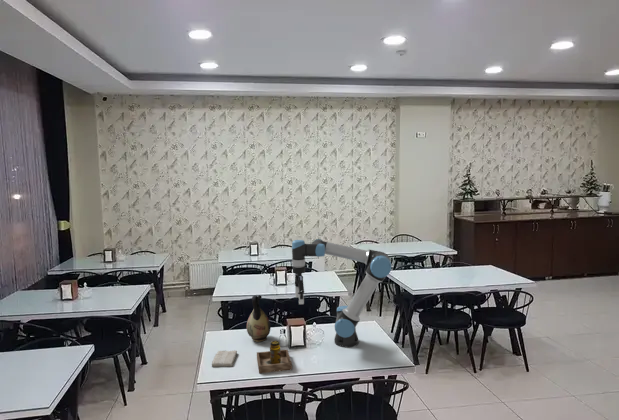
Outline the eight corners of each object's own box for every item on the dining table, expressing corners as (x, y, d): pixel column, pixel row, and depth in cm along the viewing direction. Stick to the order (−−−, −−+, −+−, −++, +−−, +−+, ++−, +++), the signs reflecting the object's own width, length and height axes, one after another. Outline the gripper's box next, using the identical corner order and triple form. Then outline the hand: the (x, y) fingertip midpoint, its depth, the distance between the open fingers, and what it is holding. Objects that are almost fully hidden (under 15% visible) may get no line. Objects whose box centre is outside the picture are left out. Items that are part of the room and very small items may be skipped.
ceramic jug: (250, 334, 293) (249, 290, 289) (273, 334, 290) (271, 290, 287) (243, 344, 276) (241, 298, 273) (267, 345, 274) (265, 299, 270)
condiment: (283, 363, 247) (283, 342, 246) (270, 367, 242) (269, 346, 241) (277, 358, 253) (276, 338, 252) (264, 362, 249) (263, 342, 247)
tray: (287, 355, 259) (287, 349, 258) (292, 370, 241) (291, 363, 241) (256, 359, 255) (256, 352, 255) (259, 373, 238) (258, 366, 237)
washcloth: (237, 353, 264) (237, 348, 264) (232, 367, 246) (232, 362, 246) (217, 354, 264) (217, 349, 264) (211, 368, 246) (211, 362, 246)
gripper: (289, 261, 273) (290, 294, 275) (295, 271, 248) (296, 307, 251) (301, 261, 274) (302, 294, 276) (308, 270, 250) (309, 306, 252)
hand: (299, 300), depth 264 cm, fingers open, 13 cm apart
